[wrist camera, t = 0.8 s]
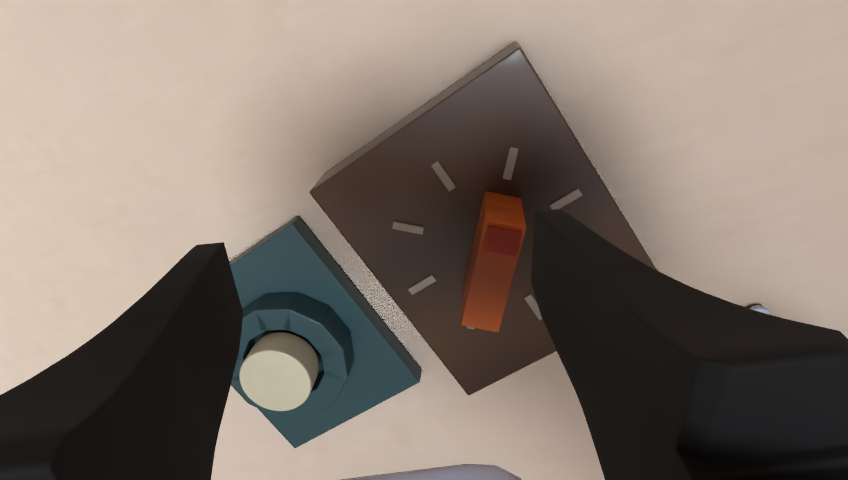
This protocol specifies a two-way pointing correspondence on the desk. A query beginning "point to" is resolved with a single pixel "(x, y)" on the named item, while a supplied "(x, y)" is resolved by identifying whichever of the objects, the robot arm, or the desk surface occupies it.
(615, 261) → the robot arm
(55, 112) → the desk surface
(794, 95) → the desk surface
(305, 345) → the button
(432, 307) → the dial board
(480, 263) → the dial knob
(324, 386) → the button block
